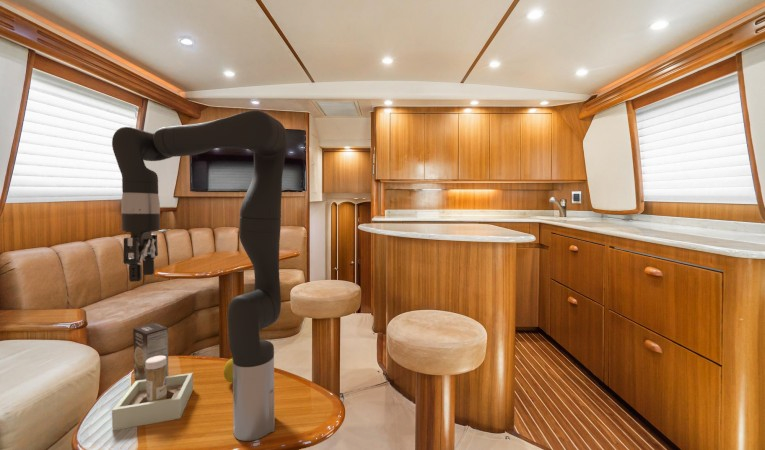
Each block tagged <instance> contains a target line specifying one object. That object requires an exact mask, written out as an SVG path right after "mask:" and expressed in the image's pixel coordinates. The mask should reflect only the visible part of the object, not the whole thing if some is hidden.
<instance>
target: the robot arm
mask: <svg viewBox="0 0 765 450" xmlns="http://www.w3.org/2000/svg"><path fill="white" fill-rule="evenodd" d="M111 139H112V140H111V147H112V151H113V154H114V156H115V160H116V163H117V165H118V169H119V171H120V174H121V178H122V179H121V184H122V185H121V189H122V195H121V201H120V202H121V204H120V205H121V209H120V211H121V230H122V232H125V233H130V237H124V238H123V261H122V262H123V264H124V265H127V266H128V280H129V282H130V283H131V282H139V281H141V280H142V277H143V276H142V272H143V275H144V276H150V275H151V276H152V275H154V274H155V260H156V257H158V255H159V251H158V234H157V233H153V232H159V231H160V230H161V205H160V203H161V202H160V196H159V177H158V174H157V173H156V171H154V170H152V169H150V168H148V167H147V166H146V164H145V162H159V161H165V160H167V159H171V158H174V157H175V158H176V157H186V156H187V157H188V156H189V157H190V156H195V155H200V154H201V155H202V154H204V153H207V152H210V151H213V150H215V149H221V148H224V149H225V148H233V149H245V150H248V151H250V152H252V153H253V172H252V179H251V182H250V184H249V187H248V189H247V191H246V193H245V195H244V197H243V200H242V203H241V206H240V209H239V223H238V224H239V225H238V226H239V227H238V228H239V231H238V235H239V240H240V244H241V246H242V248H243V250H244V252H245V253H246V255H247V256H248V258H249V260H250V262H251V264H252V267H253V272H254V284H253V285H254V287H253V291H250V292H246V293H242V294H240V295H237V296H235V297H233V298H232V299H231V301H230V302H229V305H228V308H227V330H228V331H227V332H228V345H229V350H230V352H231V356H232V358H233V383H232V403H233V405H232V408H233V409H232V411H233V417H232V418H233V425H232V426H233V436H234V437H235V438H236V439H238V440H239V441H244V442H248V441H256V440H259V439H261V438H263V437H265V436H267V435H268V434H271V433H273V432H275V429H276V427H275V420H276V419H275V347H274V346H275V345H274V344H273V343H272V342H271V341H269V340H265V339H261V338H260V331H261V330H262V329H265V328H267V327H269V326H271V325H273V324H275V323H276V322H277V320H279V317H280V315H281V310H282V298H281V297H282V295H281V283H280V281H281V279H280V243H281V242H280V241H281V240H280V239H281V228H282V227H281V225H282V223H281V221H282V195H283V194H282V192H283V191H282V190H283V173H284V166H285V159H286V152H287V146H288V134H287V130H286V128H285V126H284V125H283V124H282V122H281V121H280V120H278V119H276V118H275V117H273V116H271V115H270V114H268V113H267V112H264V111H261V110H256V109H253V110H246V111H243V112H240V113H236V114H233V115H230V116H227V117H222V118H219V119H215V120H210V121H205V122H199V123H194V124H193V123H191V124H183V125H181V124H180V125H172V126H171V125H170V126H163V127H160V128H158V129H157V130H155V132H148V131H145V130H142V129H139V128H135V127H131V126H122V127H120V128H118V129H116V131H115V132H114V134H113V136H112V138H111ZM142 264H143V265H142ZM142 268H143V269H142Z"/></svg>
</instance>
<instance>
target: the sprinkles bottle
mask: <svg viewBox="0 0 765 450" xmlns="http://www.w3.org/2000/svg"><path fill="white" fill-rule="evenodd" d="M166 363H167V360H166V356H162V355H161V356H154V357H151V358H149V359H147V360H146V363H145V368H146V370H147V371H146V373H147V379H146V389H147V402H153V401H159V400H165V399H166V397H167V396H166V393H167V385H166Z"/></svg>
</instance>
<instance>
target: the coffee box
mask: <svg viewBox="0 0 765 450" xmlns="http://www.w3.org/2000/svg"><path fill="white" fill-rule="evenodd" d="M132 329H133V331H132V332H133V334H132V336H133V338H132V339H133V376H134V379H136V380H137V381H138V380H145V379H147V373H146V371H147V370H146V368H145V363H146V360H147V359H149V358H151V357H154V356H161V355H162V356H166V360H167V363H166V376H169V328H168V327H166V326H164V325H162V324H161V323H158V322H156V321H155V322H154V321H153V322H151V323H147V324H143V325H139V326H136V327H133V328H132Z"/></svg>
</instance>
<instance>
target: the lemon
mask: <svg viewBox="0 0 765 450" xmlns="http://www.w3.org/2000/svg"><path fill="white" fill-rule="evenodd" d="M223 376H224V378H225V380H226V381H227V382H228V383H232V384H233V357H232V358H229V359H228V360H227V361H226V363H225V364H224V368H223Z"/></svg>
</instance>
